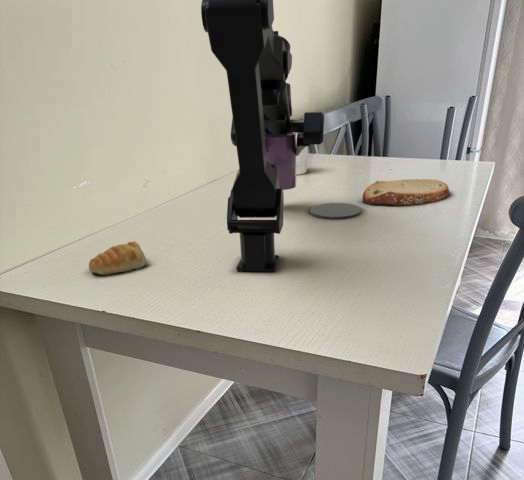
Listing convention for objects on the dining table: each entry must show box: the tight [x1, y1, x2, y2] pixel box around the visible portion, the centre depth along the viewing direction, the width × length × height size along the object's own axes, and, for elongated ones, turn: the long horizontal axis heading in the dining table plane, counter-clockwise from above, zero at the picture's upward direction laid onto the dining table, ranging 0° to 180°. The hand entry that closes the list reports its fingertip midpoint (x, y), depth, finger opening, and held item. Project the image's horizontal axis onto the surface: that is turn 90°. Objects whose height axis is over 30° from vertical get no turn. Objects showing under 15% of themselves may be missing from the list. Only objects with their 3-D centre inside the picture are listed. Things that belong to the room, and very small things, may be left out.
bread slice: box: [362, 178, 450, 207], centre depth 119 cm, size 18×18×4 cm
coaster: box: [310, 202, 362, 220], centre depth 112 cm, size 11×11×1 cm
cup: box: [265, 132, 297, 191], centre depth 111 cm, size 7×7×11 cm
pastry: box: [88, 240, 147, 276], centre depth 88 cm, size 9×7×4 cm
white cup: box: [296, 133, 309, 176], centre depth 145 cm, size 8×8×10 cm
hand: (281, 154), depth 112 cm, fingers closed on cup, 7 cm apart
